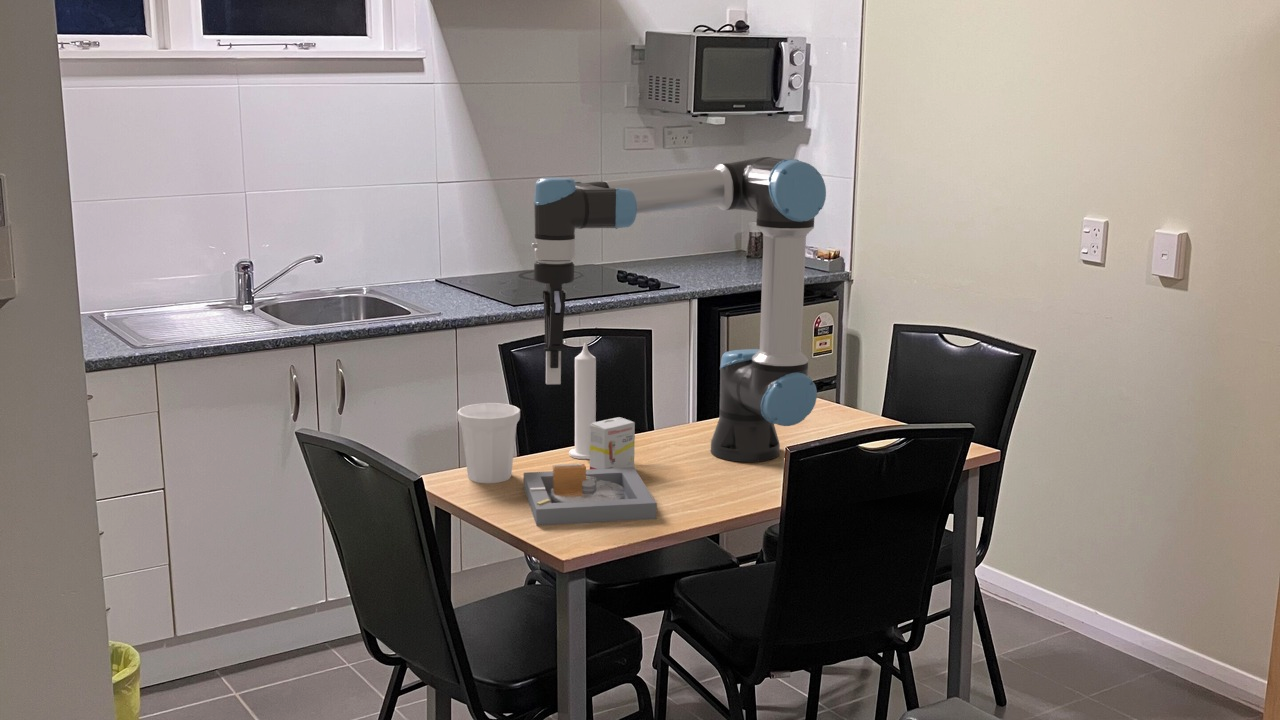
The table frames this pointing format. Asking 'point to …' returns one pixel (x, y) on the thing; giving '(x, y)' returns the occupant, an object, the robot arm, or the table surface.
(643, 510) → the housing
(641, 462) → the table surface
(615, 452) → the ink box
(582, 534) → the table surface
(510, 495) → the table surface
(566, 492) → the dial
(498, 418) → the cup
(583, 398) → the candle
